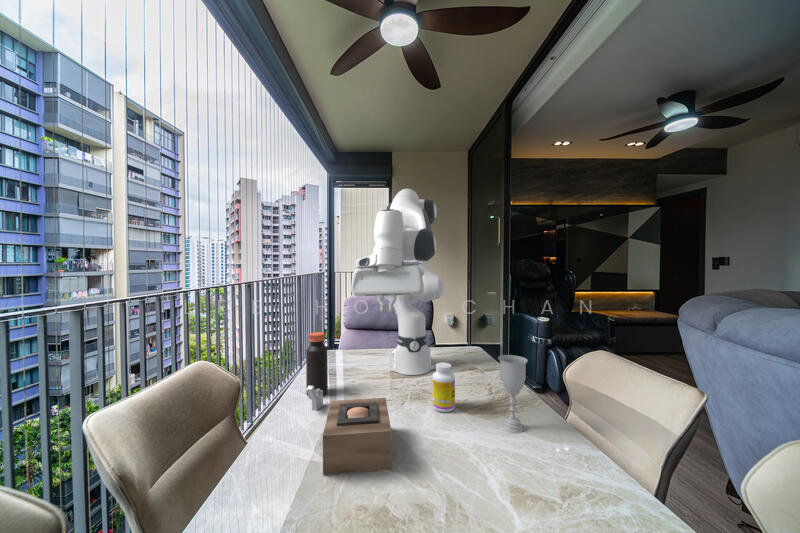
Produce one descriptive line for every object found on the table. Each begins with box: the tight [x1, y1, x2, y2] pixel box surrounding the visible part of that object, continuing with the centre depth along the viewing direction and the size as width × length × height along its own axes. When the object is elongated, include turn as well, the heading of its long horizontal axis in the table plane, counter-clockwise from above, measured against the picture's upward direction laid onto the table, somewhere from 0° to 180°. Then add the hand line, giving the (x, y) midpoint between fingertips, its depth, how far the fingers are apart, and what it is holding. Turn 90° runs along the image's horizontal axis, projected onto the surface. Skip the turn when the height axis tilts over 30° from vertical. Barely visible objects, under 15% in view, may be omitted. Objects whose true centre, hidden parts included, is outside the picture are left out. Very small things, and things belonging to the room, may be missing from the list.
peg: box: [347, 407, 369, 418], centre depth 70 cm, size 5×5×8 cm
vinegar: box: [305, 331, 329, 397], centre depth 100 cm, size 7×7×20 cm
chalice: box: [497, 354, 529, 434], centre depth 79 cm, size 7×7×18 cm
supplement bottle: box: [432, 362, 456, 413], centre depth 90 cm, size 7×7×13 cm
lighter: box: [305, 386, 324, 412], centre depth 90 cm, size 7×2×8 cm, turn 168°
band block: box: [322, 397, 392, 476], centre depth 70 cm, size 16×14×9 cm
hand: (386, 311), depth 82 cm, fingers closed
